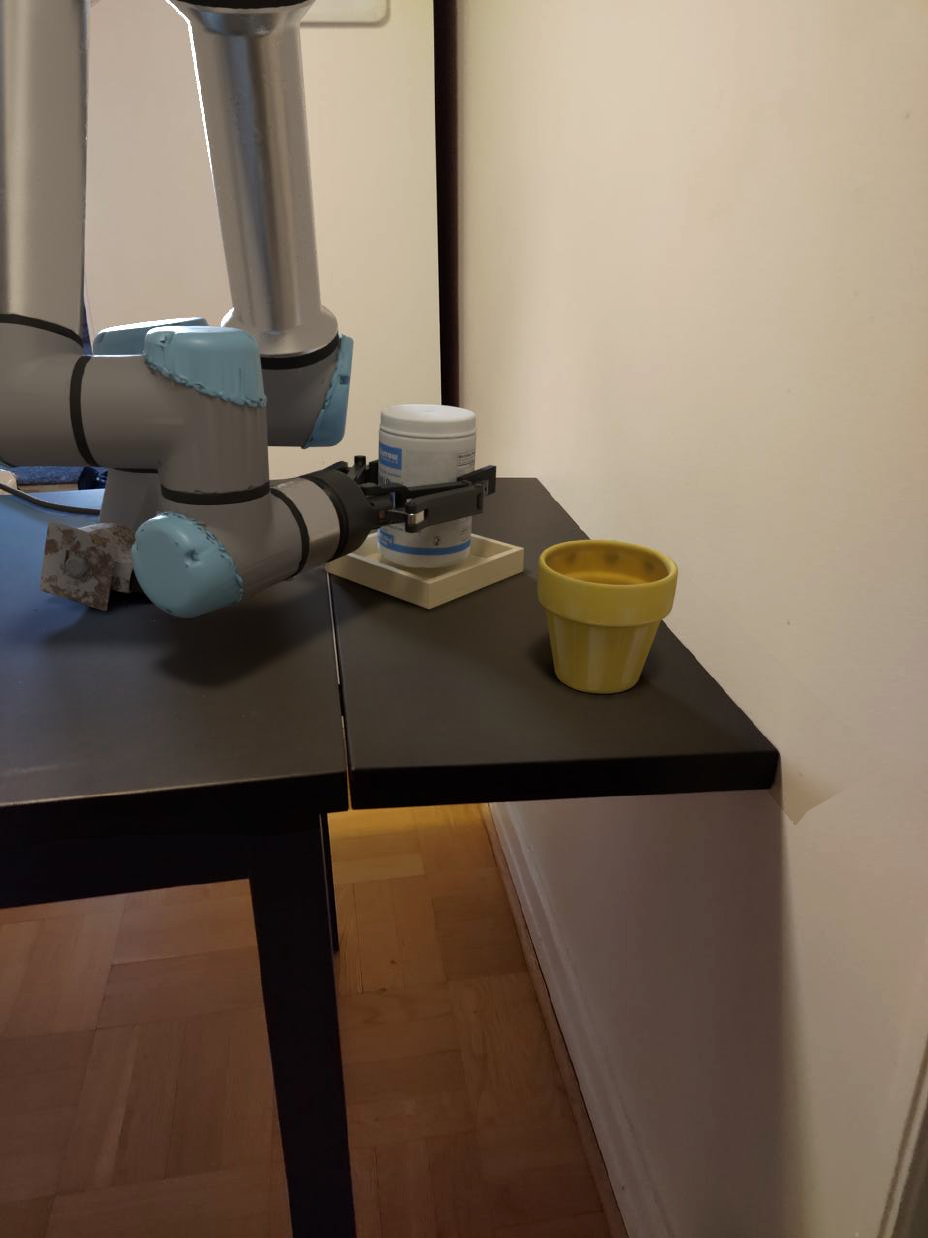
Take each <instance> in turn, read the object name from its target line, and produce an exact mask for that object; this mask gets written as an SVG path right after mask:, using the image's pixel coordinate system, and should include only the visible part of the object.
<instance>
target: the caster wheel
mask: <svg viewBox="0 0 928 1238" xmlns="http://www.w3.org/2000/svg"><path fill="white" fill-rule="evenodd" d="M135 540H136V539H135V533H134V532H133V531H132V530H130V529H129V528H127V527H125V526H122V525H119V524H114V523H99V524H98V523H93V524H90V525H85V526H81V527H77V528H76V527H73V526H70V525H68V524H64V523H60V522H58V521H55V520H48V522H47V530H46V537H45V544H44V551H43V559H42V564H41V565H42V566H41V573H40V579H39V580H40V581H39V590H40V591H41V592H44V593H47V594H50V595H53V596H56V597H60V598H63V599H65V600H67V601H68V600H69V601H72V602H73V603H74V602H75V603H78V604H81V605H84V606H86V607H90V608H93V609H96V610H99V611H102V612H105V611H108V605H109V601H110V600H109V599H110V593H111V590H112V591H115V592H118V593H119V592H120V593H125V594H131V593H137V594H139V593H140V594H144V595H146V594H145V593H144V591H143V590H142V588H141V586H140V584H139V582H138V580H137V578H136V575H135V572H134V569H133V564H132V557H131V549H132V546H133V545H134V543H135Z"/></svg>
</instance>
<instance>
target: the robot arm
mask: <svg viewBox="0 0 928 1238" xmlns="http://www.w3.org/2000/svg"><path fill="white" fill-rule="evenodd" d="M100 1H101V0H0V467H3V468H5V469H9V470H10V469H14V468H27V467H29V468H31V467H33V468H37V467H61V468H62V467H66V468H69V467H70V468H104V469H107V477H106V481H105V482H106V483H105V487H104V492H103V497H102V502H101V506H100V508H95V507H94V508H92V507H83V506H74V505H67V504H62V503H57V502H53V501H52V502H51V501H47V500H44V499H40V498H38V497H36V496H33V495H31V494H29V493H27V492H25V491H22V490H19V489H17V488H14V487H13V486H11V485H8V484H6V483H4V482H1V481H0V490H1V491H4V492H6V493H8V494H11V495H12V496H15V497H17V498H19V499H22V500H24V501H26V502H28V503H30V504H32V505H35V506H37V507H39V508H43V509H47V510H50V511H56V512H60V513H61V512H62V513H66V514H67V513H68V514H75V515H83V516H93V517H98V521H97V522H98V523H97V524H99V523H114V524H119V525H122V526H125V527H127V528H129V529H130V530H132V531H133V532H134V533H135V539H136V540H135V543H134V545H133V546H132V549H131V557H132V564H133V569H134V572H135V575H136V578H137V580H138V582H139V584H140V586H141V588H142V590H143V591H144V593H145V594H144V595H146V597H147V598H148V599H149V600H150V602H151V603H152V604H153V605H155V607H157V608H158V609H160V610H161V611H163V613H166V614H169V615H170V616H174V617H176V618H181V619H190V618H191V619H193V618H196V617H199V616H203V615H206V614H208V613H211V612H215V611H217V610H220V609H223V608H228V607H233V606H236V605H237V604H239V603H240V602H241V601H242V600H244V599H247V598H248V597H250V596H253V595H254V594H257V593H259V592H261V591H264V590H266V589H268V588H270V587H272V586H276V585H277V584H279V583H283V582H291V581H293V580H294V577H297V576H299V575H302V574H303V573H306V572H309V571H311V570H313V569H315V568H318V567H320V566H322V565H325V563H328V562H331V561H333V560H336V559H338V558H340V557H343V556H345V555H348V554H350V553H352V552H354V551H356V550H357V549H358V548H359V547H360V546H361V545H362V544H363V543H364V541H365V540H366V538H367V536H368V535H369V534H371V532H372V531H373V530H378V529H379V528H381V527H382V526H387V525H391V524H398V523H405V532H407V533H416V532H419V531H420V530H422V529H424V528H426V527H429V526H433V525H437V524H441V523H445V522H449V521H453V520H457V519H461V518H465V517H469V516H472V517H473V516H476V515H481V514H483V513H484V511H485V497H487V496H490V495H493V494H495V493H496V488H497V487H496V483H497V465H492V464H488V465H486V466H483V467H480V468H477V469H476V470H474V471H472V472H470V473H467V474H464V475H462V476H459V477H457V481H456V482H447V483H439V484H430V485H421V486H413V487H406V486H404V485H402V484H400V483H391V484H382V485H378V459H374V460H371V461H368V464H367V456H366V455H361V454H357V455H354V456H353V465H352V466H349V462H347V461H345V460H339V461H337V462H334V463H332V464H330V465H329V466H326V467H325V468H322V469H319V470H316V471H311V472H309V473H305V474H302V475H299V476H295V477H287V478H285V479H281V480H278V481H274V482H271V483H270V463H269V447H281V448H282V447H283V448H284V447H285V448H288V447H290V448H300V449H301V450H307V449H309V448H327V447H328V448H330V447H334V446H337V445H338V444H339V443H340V442H342V441H343V439H344V437H345V434H346V427H347V419H348V418H347V417H348V406H349V395H350V388H351V387H350V386H351V377H352V364H353V355H354V354H353V353H354V339H353V338H352V337H350V336H347V335H346V334H344V333H340V334H339V324H338V320H337V317H336V315H335V314H334V313H333V312H332V311H331V310H330V309H328V308H327V307H326V306H325V305H324V304H322V299H321V298H322V297H321V285H320V284H321V283H320V272H319V271H320V270H319V257H318V256H319V255H318V246H317V233H316V232H317V231H316V220H315V208H314V207H315V206H314V194H313V181H312V180H313V179H312V167H311V157H310V155H311V154H310V146H309V145H310V144H309V131H308V130H309V129H308V116H307V106H306V105H307V104H306V92H305V82H304V81H305V78H304V68H303V67H304V66H303V65H304V64H303V55H302V42H301V28H300V27H301V22H302V19H303V18H304V17H305V15H306V14H307V13H308V11H310V9H311V8H312V6H313V5H314V4H315V2H316V1H317V0H166V2H167V3H168V4H170V5H171V6H172V7H173V8H174V9H175V10H176V12H178V14H179V15H181V16H182V17H183V19H184V20H185V21H186V23H187V24H188V25H187V26H188V32H189V38H190V43H191V51H192V57H193V62H194V70H195V76H196V81H197V82H196V83H197V89H198V94H199V101H200V108H201V113H202V121H203V126H204V132H205V133H204V134H205V139H206V145H207V152H208V157H209V163H210V164H209V165H210V170H211V177H212V184H213V190H214V195H215V202H216V210H217V215H218V221H219V227H220V229H219V230H220V234H221V241H222V246H223V254H224V259H225V266H226V267H225V268H226V272H227V278H228V285H229V291H230V297H231V298H230V299H231V304H232V309H230V310H229V312H228V313H226V315H225V316H224V317H223V319H222V321H221V323H220V326H214V325H210V324H209V323H208V320H207V319H206V318H205V317H200V316H198V317H182V318H181V317H180V318H173V319H172V318H171V319H163V320H156V321H155V320H154V321H146V322H139V323H132V324H125V325H119V326H113V327H109V328H105V329H103V330H101V331H99V332H98V333H97V334H96V335H95V337H94V339H93V340H92V354H84V343H85V342H84V304H85V303H84V301H85V260H86V257H85V256H86V254H85V253H86V221H87V219H86V218H87V217H86V216H87V177H88V176H87V173H88V170H87V169H88V135H89V134H88V133H89V132H88V131H89V130H88V127H89V125H88V124H89V90H90V89H89V86H90V85H89V84H90V82H89V81H90V44H91V43H90V40H91V8H93V7H95V6H96V5H97V4H99V2H100ZM394 492H395V507H393V496H392V494H391V493H394Z"/></svg>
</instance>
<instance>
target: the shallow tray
mask: <svg viewBox="0 0 928 1238" xmlns="http://www.w3.org/2000/svg"><path fill="white" fill-rule="evenodd" d="M524 561H525V548H524V547H521V546H517V545H513V544H510V543H506V542H503V541H500V540H496V539H493V538H489V537H485V536H482V535H479V534H475V533H472V532H471V542H470V552H469V554H468V556H467V557H466V558H465V559H464V560H462V561H461V562H459V563H456V564H454V565H450V566H446V567H438V568H425V567H417V568H415V567H408V566H403V565H399V564H396V563H393V562H391V561H389V560H387V559H386V558H384V557H383V556H382V555H381V554H380V552H379V549H378V531H375V532H373V533H369V535H368V536H367V538H366V540H365V541H364V543H363V544H362V545H361V546H360V547H359V548H358V549H357V550H356V551H354V552H352V553H350V554H348V555H345V556H343V557H340V558H338V559H336V560H333V561H331V562H328V563H325V564H324V569H325V570H324V571H325V572H327V573H329V574H331V575H335V576H337V577H340V578H343V579H345V580H348V581H351V582H354V583H356V584H358V585H362V586H364V587H367V588H369V589H372V590H376V591H378V592H380V593H383V594H386V595H389V596H391V597H394V598H397V599H399V600H402V601H405V602H407V603H410V604H413V605H416V606H419V607H422V608H424V609H427V610H431V609H433V608H437V607H438V606H441V605H443V604H446V603H449V602H452V601H454V600H456V599H458V598H461V597H463V596H466V595H468V594H471V593H474V592H476V591H478V590H481V589H483V588H485V587H488V586H491V585H493V584H496V583H498V582H500V581H503V580H506V579H508V578H510V577H513V576H515V575H517V574H521V573H523V572H524Z"/></svg>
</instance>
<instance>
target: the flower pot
mask: <svg viewBox="0 0 928 1238" xmlns="http://www.w3.org/2000/svg"><path fill="white" fill-rule="evenodd" d="M678 577H679V568H678V565H677V563H676V562H675V560H673V559H672V558H671V557H670V556H668V555H666V554H665V553H663V552H661V551H658V550H657V549H653V548H651V547H648V546H645V545H641V544H637V543H632V542H628V541H627V542H626V541H619V540H609V539H578V540H570V541H569V540H568V541H564V542H560V543H557V544H554V545H551V546H549V547H547V548H545V549H544V550H543V551H542V552H541V554H540V555H539V557H538V562H537V579H536V581H537V582H536V595H537V596H536V597H537V599H538V602H539V603H540V605H541V606H542V607H543V608H544V609H545V614H546V615H545V616H546V622H547V628H548V633H549V634H548V635H549V640H550V641H549V642H550V647H551V654H552V661H553V667H554V674H555V676H556V678H557V679H558V680H559V681H560V682H561V683H562V684H564V685H566V686H567V687H569V688H571V689H574V690H577V691H580V692H583V693H587V694H588V693H589V694H595V695H596V694H597V695H610V694H618V693H622V692H625V691H627V690H630V689H632V688H633V687H634V686H635V685H636V684H637V683H638V681H639V680H640V677H641V674H642V671H643V669H644V666H645V663H646V661H647V658H648V656H649V653H650V651H651V648H652V646H653V643H654V640H655V637H656V635H657V631H658V629H659V626H660V624H661V622H662V620H664V619H665V618H666V617H668V616H669V614H670V613H671V611H672V610H673V606H674V601H675V596H676V591H677V584H678Z"/></svg>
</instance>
